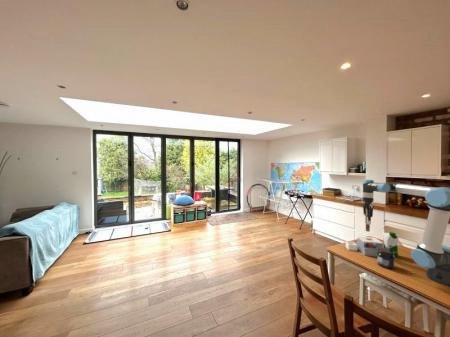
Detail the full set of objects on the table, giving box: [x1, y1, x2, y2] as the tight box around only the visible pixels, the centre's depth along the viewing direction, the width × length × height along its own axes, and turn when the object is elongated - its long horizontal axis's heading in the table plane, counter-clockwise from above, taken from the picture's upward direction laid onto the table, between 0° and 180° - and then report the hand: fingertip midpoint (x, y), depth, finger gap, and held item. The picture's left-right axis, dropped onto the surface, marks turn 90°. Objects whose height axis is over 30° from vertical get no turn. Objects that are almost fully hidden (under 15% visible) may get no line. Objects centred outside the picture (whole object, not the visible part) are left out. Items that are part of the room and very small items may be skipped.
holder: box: [345, 241, 358, 251], centre depth 173 cm, size 7×7×5 cm
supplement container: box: [376, 247, 396, 270], centre depth 143 cm, size 10×10×12 cm
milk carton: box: [382, 231, 400, 258], centre depth 161 cm, size 9×9×20 cm
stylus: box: [365, 209, 371, 232], centre depth 163 cm, size 3×3×20 cm
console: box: [356, 236, 384, 258], centre depth 165 cm, size 16×14×12 cm
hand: (367, 223), depth 163 cm, fingers closed on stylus, 3 cm apart
